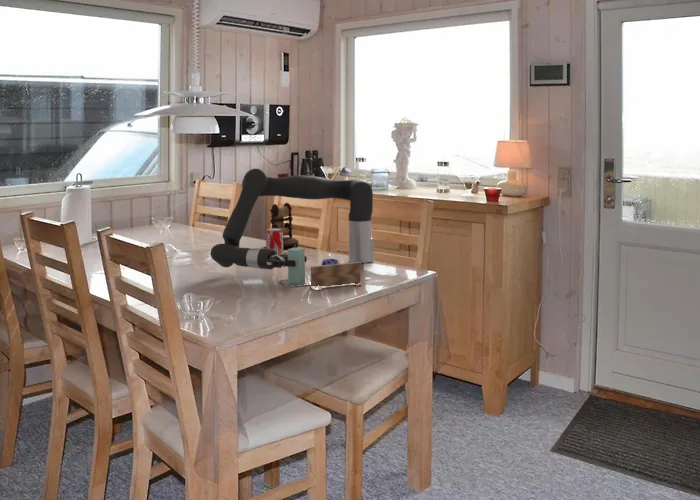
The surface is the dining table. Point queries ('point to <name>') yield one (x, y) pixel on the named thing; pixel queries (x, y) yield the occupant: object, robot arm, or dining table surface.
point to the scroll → (278, 222)
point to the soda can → (274, 240)
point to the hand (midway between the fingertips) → (300, 261)
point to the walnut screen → (335, 274)
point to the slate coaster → (291, 283)
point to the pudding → (329, 262)
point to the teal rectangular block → (298, 271)
